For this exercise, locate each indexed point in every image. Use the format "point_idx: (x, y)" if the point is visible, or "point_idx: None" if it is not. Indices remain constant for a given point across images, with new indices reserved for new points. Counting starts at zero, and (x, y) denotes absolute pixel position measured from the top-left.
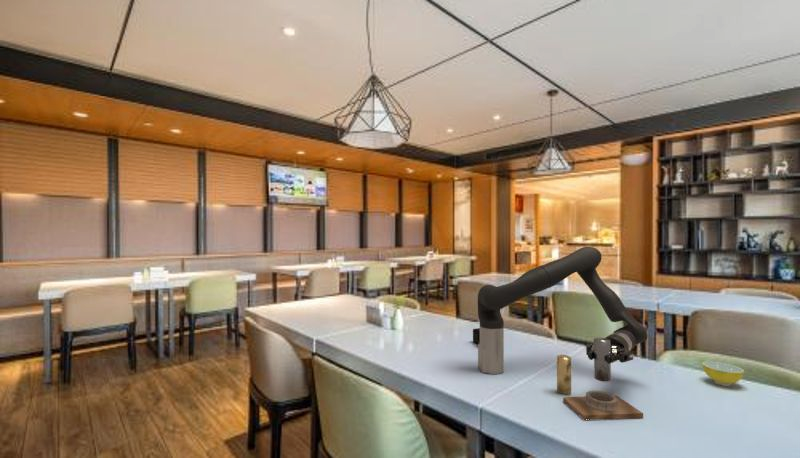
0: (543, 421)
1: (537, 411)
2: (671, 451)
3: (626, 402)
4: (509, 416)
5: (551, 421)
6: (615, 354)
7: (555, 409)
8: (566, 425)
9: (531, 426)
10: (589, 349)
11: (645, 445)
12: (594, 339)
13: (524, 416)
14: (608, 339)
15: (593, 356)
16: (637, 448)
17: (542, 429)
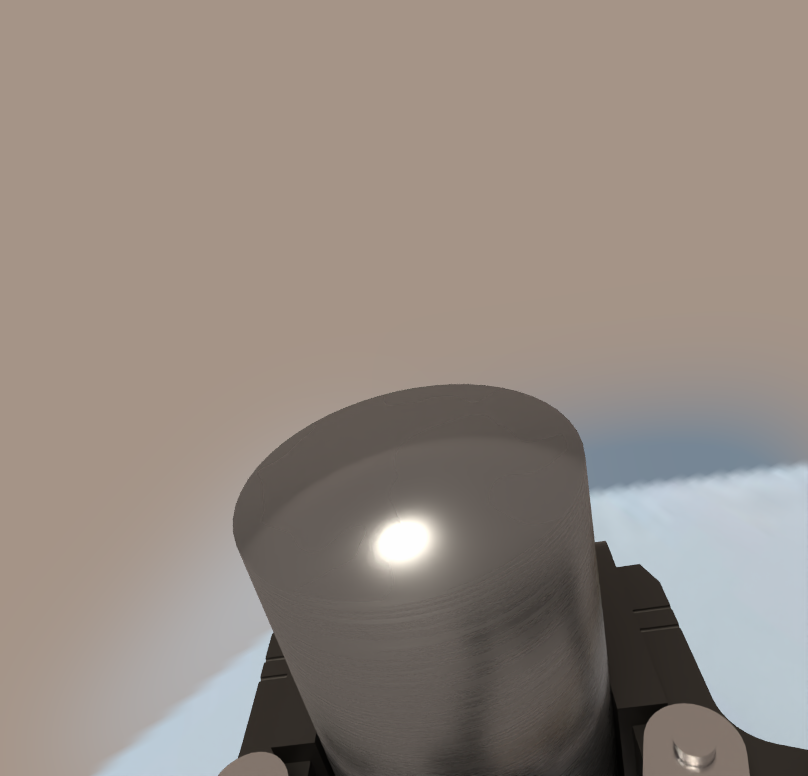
0: (675, 549)
1: (797, 604)
2: (113, 760)
3: None
4: (797, 476)
5: (654, 576)
6: (236, 769)
7: (778, 716)
8: None
9: (664, 488)
10: (803, 769)
11: (224, 718)
12: (523, 397)
13: (767, 520)
14: (276, 566)
15: None
16: (259, 663)
17: (618, 502)
